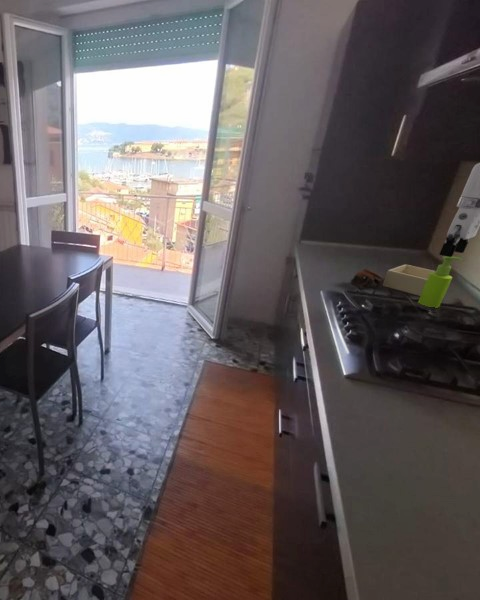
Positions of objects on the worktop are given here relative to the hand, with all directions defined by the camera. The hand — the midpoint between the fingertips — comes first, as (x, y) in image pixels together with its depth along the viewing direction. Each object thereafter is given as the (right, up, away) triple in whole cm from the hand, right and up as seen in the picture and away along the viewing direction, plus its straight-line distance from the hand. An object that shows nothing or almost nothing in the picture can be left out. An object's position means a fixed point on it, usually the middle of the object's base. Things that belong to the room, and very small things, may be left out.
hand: (451, 253), depth 122 cm
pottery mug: (-7, -10, +29) cm, 31 cm away
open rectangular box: (+12, -11, +28) cm, 32 cm away
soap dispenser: (0, -19, +9) cm, 21 cm away
